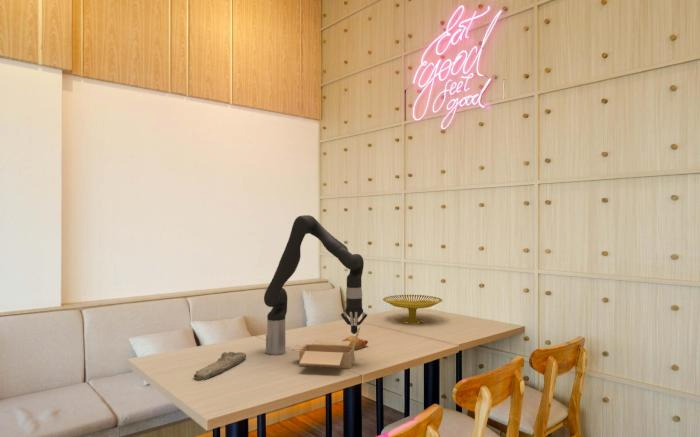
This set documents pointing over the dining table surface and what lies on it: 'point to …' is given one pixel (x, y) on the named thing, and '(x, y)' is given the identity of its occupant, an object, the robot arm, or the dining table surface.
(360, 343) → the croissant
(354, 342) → the flap far
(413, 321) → the yellow pedestal fruit bowl
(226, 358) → the long grey stone
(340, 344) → the carton
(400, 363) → the dining table surface
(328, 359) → the flap near
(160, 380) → the dining table surface
